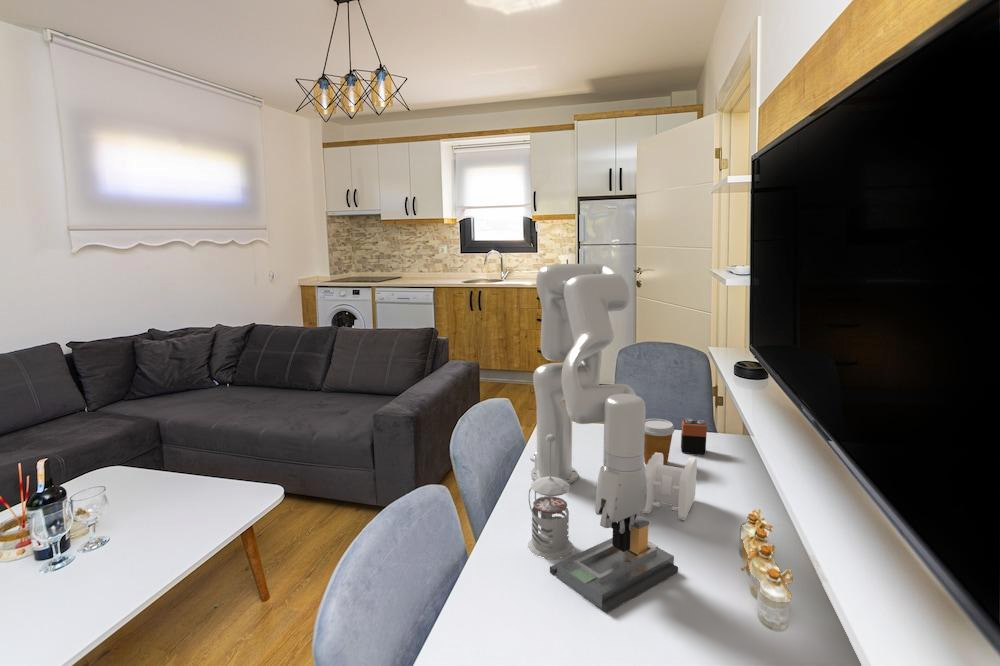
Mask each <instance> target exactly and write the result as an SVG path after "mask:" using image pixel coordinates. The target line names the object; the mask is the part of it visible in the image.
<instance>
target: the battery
mask: <svg viewBox="0 0 1000 666" xmlns="http://www.w3.org/2000/svg"><path fill="white" fill-rule="evenodd" d="M707 425H708V424H707V422H706V421H704V420H703V419H697V420H693V419H692V418H688V417H687V418H685V419H683V420H681V434H680V435H681V436H680V450H681V453H682V454H693V455H706V451H707V448H706V447H707V434H708V433H707V430H708V426H707Z"/></svg>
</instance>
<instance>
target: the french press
mask: <svg viewBox="0 0 1000 666" xmlns="http://www.w3.org/2000/svg"><path fill="white" fill-rule="evenodd" d="M546 441H549V442H550V476H547V477H542V478H539V479H537V480H533V482H532V483H530V488H529V491H528V504H529V509H530V512H531V517H532V518H531V538H530V539H531V540H529V541H528V542H527V543H528V545H527V549H528V548H529V549H530V551H531V552H532V553H534V554H535V555H534V554H533V555H534V556H536V555H537V556H536V557H538V556H541V557H544V558H543V559H546V558H549V559H548V560H552V559H551V558H557V559H561V558H560V557H562V558H565V557H567V556H569V555H570V554H571V553H572V551H573V550H574V546H573V545H574V544H573V543H572V542H571V540H570V539H569V537H570V536H569V527H570V526H569V520H570V518H569V516H570V513H569V512H570V511H569V508H568V503H567V501H566V500H564V499H563V498H560V497H559V496H562V495H565V494H567V493H568V491H570V488H571V487H570V486H571V485H570V484H568V483H567V482H566V481H564V480H562V479H560V478H558V477H551V442H552V441H555V437H554V435H552V434H549V435H547V436H546ZM531 490H533V492H534V501H533V503H532V504H533V507H532V506H531V501H530V500H531V499H530V498H531V496H530V494H531ZM537 494H539V495H541V497H538V498H537ZM563 511H564V512H565V513H564V512H563ZM539 514H540V517H539ZM556 514H557V515H556ZM553 515H555V516H553ZM558 515H562V516H558ZM539 532H540V533H539ZM530 551H529V552H530ZM531 552H530V553H531ZM532 553H531V554H532ZM566 555H567V556H566ZM541 557H540V558H541Z"/></svg>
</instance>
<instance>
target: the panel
mask: <svg viewBox="0 0 1000 666" xmlns="http://www.w3.org/2000/svg"><path fill="white" fill-rule="evenodd" d="M612 540H613V537H611V538H609V539H606V540H605V541H603V542H602V541H601V543H598V544H595V545H594V546H592V547H590V548H587V549H585V550H583V551H581V552H578V553H576V554H575V555H572V556H570V557H568V558H566V559H563V560H561V561H559V562H557V563H556V564H557V574H556V578H557V579H559V580H560V581H561V582H562V583H564V584H565V585H567V586H569V588H571V589H573V590H574V591H575V592H576V593H578V594H580V595H581V596H582V597H583V598H585V599H586V600H587V601H589V602H590V603H592V604H593V605H595V606H596V607H597V608H598V609H600V610H601V611H603V610H602V603H604V602H606V601H608V600H610V599H612V598H613V597H615V596H617V595H619V594H621V593H623V592H624V591H626V590H628V589H630V588H632V587H633V586H635V585H637V584H639V583H641V582H643V581H644V580H646V579H648V578H650V577H652V576H654V575H655V574H657V573H659V572H661V571H663V570H664V569H666V568H668V567H670V566H672V565H675V562H674V561H675V556H674V555H672V554H670V553H669V552H667V551H665V550H663V549H661V548H660V547H659V545H657V544H655V543H653V542H652V541H649V540H648V549H647V551H645V552H643V553H641V554H639V555H637V554H636V553H634V552H632V551H630V550H626V551H625V552H623V551H621V550H619V549H617V548H616V547H614V546H613V544H612Z"/></svg>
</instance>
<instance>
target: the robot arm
mask: <svg viewBox="0 0 1000 666" xmlns="http://www.w3.org/2000/svg"><path fill="white" fill-rule="evenodd" d="M535 281H536V282H535V284H536V291H537V295H538V298H539V300H540V305H541V323H540V324H541V326H540V352H541V355H542V357H543V359H546V360H548V361H552V363H545V364H541V365H540V366H538V367H537V368H536V369H535V370H534V372H533V374H532V379H533V380H532V384H533V389H534V395H535V404H536V405H535V406H536V451H535V452H534V453H533V455H532V456H530V458H529V459H530V461H531V462H533V463H534V467H533V468H532V469H531V471H530V476H531V479H532V480H533V481H535V480H537V479H539V478H542V477H547V476H550V442H549V441H546V436H547V435H549V434H552V435H554V437H555V441H552V442H551V477H558V478H560V479H562V480H564V481H566V482H567V483H568V484H569V485H570V484H572V483H574V482H575V481H577V480H578V471H577V470H576V468H574V467H572V465H573V464H572V463H573V458H572V457H573V422H574V423H576V424H578V425H589V424H601V423H603V463H602V464H603V466H600V469H599V471H598V477H597V482H596V483H597V484H596V490H595V491H596V492H595V503H594V504H595V506H594V508H595V509H594V511H595V514H596V515H597V516H598V515H599V516H601V517H600V523H599V526H601V527H603V528H605V529H612V538H613V540H612V544H613V546H614V547H616V548H617V549H619V550H621V551H623V552H625V551H626V550H629V549H630V536H631V531H630V530H632V529H633V525H634V520H635V519H636V517H637V516H638V515H639V516H640V515H641V514H642V513H644V512H643V510H644V509H645V507H646V500H647V482H646V472H645V467H646V465H645V463H644V440H645V420H646V403H645V402H646V401H645V400H644V399H643V398H642V397H641V396H639V395H637V394H636V392H635V390H634V389H633V388H632V387H631V386H630V385H628V384H624V383H611V384H600V379H601V368H602V367H601V365H602V357H603V356H602V355H603V354H602V353H603V350H605V349H606V348H607V347H608V346H609V345H611V343H612V342H613V341H614V337H615V335H614V334H615V333H614V330H613V327H612V323H611V319H610V315H609V312H621V311H625V309H626V308H627V307H628V306H629V303H630V300H631V295H630V294H631V293H630V288H629V284H628V283H627V280H626V279H625V277H624V276H623V275H622V274H621V273H620V272H618V271H617V270H615V269H614V268H613V267H610V266H608V265H607V264H604V263H558V264H549V265H544V266H543V267H541V268H540V269H539V270H538V271H537V274H536V279H535Z"/></svg>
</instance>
